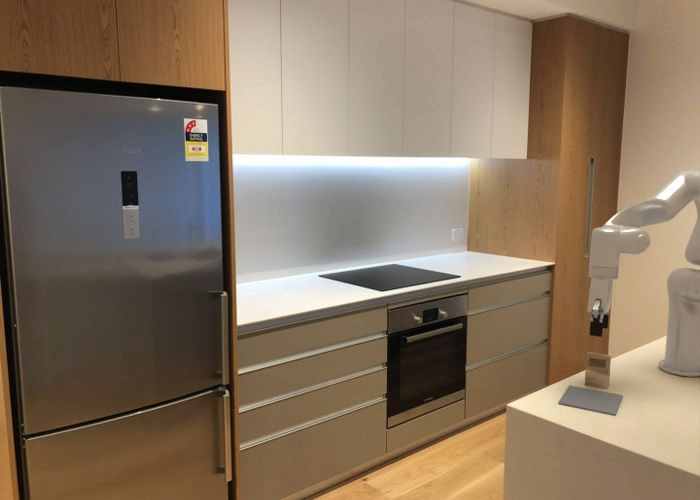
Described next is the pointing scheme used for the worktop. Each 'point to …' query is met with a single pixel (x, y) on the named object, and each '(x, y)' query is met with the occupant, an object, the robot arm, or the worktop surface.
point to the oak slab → (597, 370)
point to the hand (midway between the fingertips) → (598, 331)
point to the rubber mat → (591, 400)
